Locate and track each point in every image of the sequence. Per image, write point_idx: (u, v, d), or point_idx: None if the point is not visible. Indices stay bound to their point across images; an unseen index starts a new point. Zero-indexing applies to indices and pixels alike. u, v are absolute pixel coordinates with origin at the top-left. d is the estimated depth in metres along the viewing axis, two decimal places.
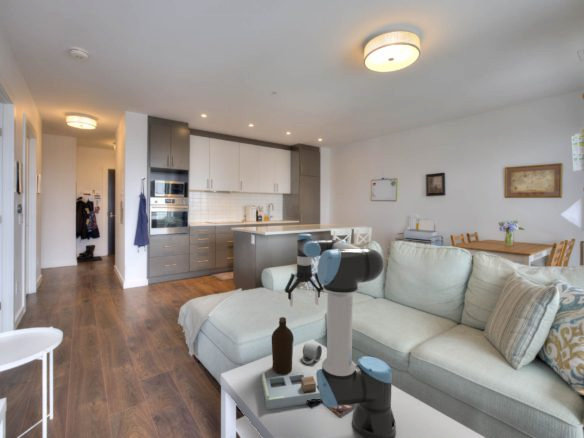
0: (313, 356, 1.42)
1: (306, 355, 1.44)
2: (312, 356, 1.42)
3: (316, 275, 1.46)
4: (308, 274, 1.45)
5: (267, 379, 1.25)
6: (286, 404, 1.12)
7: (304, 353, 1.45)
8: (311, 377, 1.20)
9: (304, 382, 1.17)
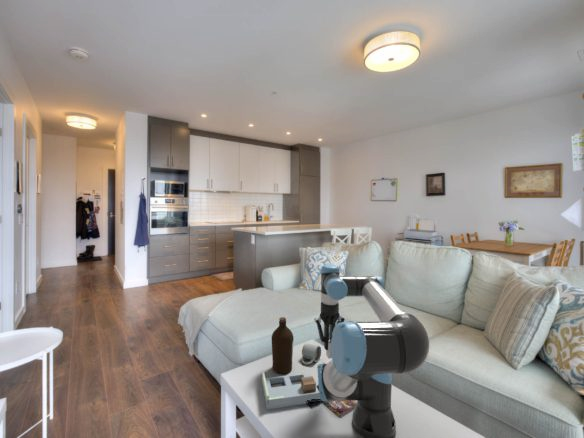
0: (312, 357, 1.41)
1: (305, 356, 1.44)
2: (311, 357, 1.42)
3: (342, 320, 1.19)
4: (336, 313, 1.18)
5: (267, 379, 1.25)
6: (286, 404, 1.12)
7: (303, 354, 1.44)
8: (311, 377, 1.20)
9: (304, 382, 1.17)
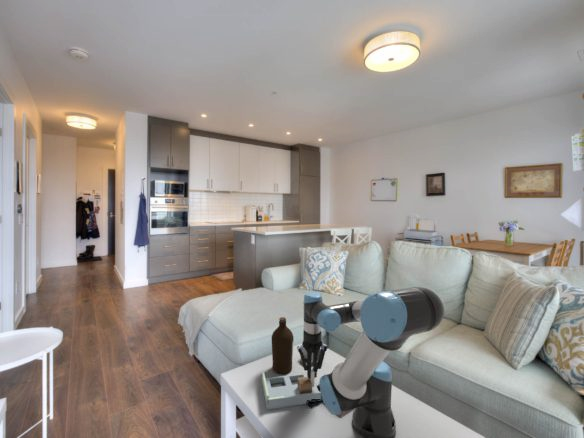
0: (312, 357, 1.41)
1: (305, 356, 1.43)
2: (311, 357, 1.41)
3: (325, 349, 1.18)
4: (318, 341, 1.17)
5: (267, 379, 1.25)
6: (286, 404, 1.12)
7: None
8: (307, 377, 1.20)
9: (300, 382, 1.16)
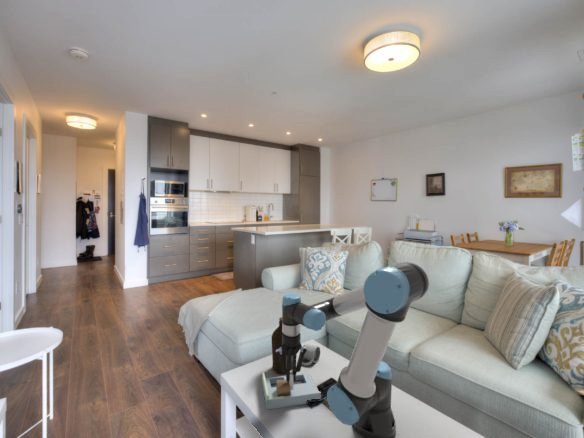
0: (311, 357, 1.41)
1: (304, 356, 1.43)
2: (310, 357, 1.41)
3: (304, 351, 1.16)
4: (297, 344, 1.15)
5: (267, 379, 1.25)
6: (286, 404, 1.12)
7: None
8: (286, 380, 1.18)
9: (278, 385, 1.14)
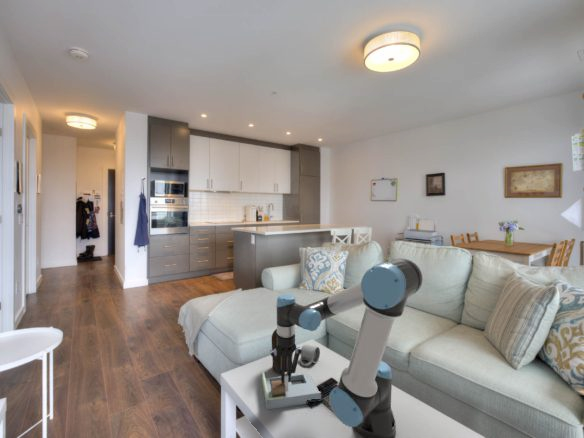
0: (311, 358, 1.40)
1: (304, 357, 1.43)
2: (310, 358, 1.41)
3: (299, 352, 1.15)
4: (292, 345, 1.14)
5: (267, 379, 1.25)
6: (286, 404, 1.12)
7: (302, 355, 1.43)
8: None
9: (273, 386, 1.14)
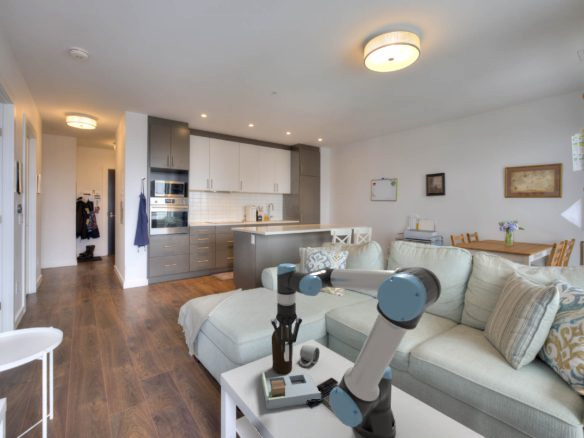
0: (310, 358, 1.40)
1: (303, 357, 1.42)
2: (309, 358, 1.40)
3: (299, 321, 1.14)
4: (293, 314, 1.14)
5: (267, 379, 1.25)
6: (286, 404, 1.12)
7: (301, 355, 1.43)
8: (281, 381, 1.17)
9: (273, 386, 1.14)
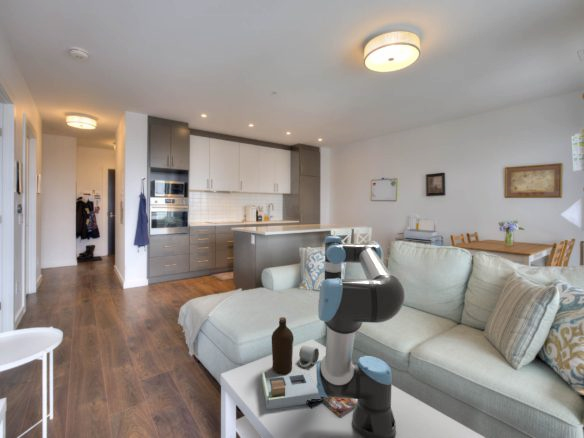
0: (310, 359, 1.39)
1: (303, 358, 1.42)
2: (309, 359, 1.40)
3: None
4: None
5: (267, 379, 1.25)
6: (286, 404, 1.12)
7: (301, 356, 1.42)
8: (281, 381, 1.17)
9: (273, 386, 1.14)
